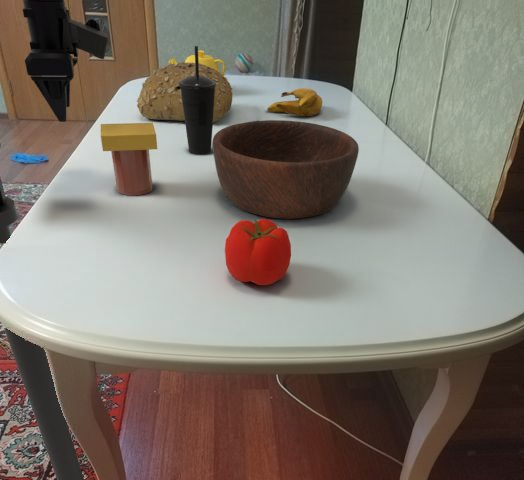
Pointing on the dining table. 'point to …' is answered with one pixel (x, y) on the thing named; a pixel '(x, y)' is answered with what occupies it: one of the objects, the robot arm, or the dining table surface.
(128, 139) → the block
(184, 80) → the drinking cup
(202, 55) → the teapot
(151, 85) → the bread
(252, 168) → the wooden bowl
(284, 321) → the dining table surface
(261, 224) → the tomato
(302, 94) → the banana
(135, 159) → the cup
